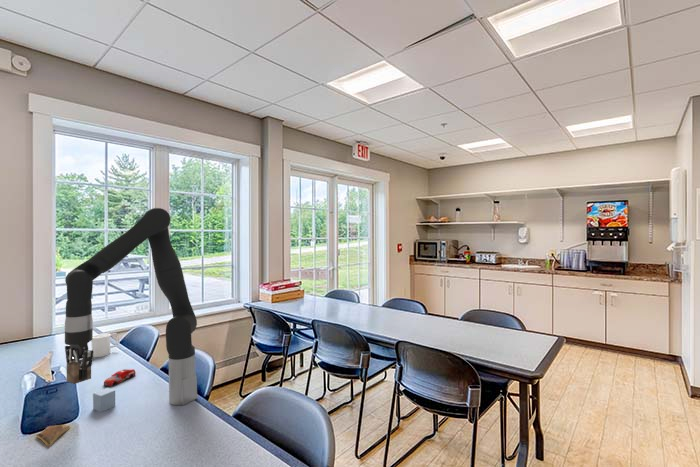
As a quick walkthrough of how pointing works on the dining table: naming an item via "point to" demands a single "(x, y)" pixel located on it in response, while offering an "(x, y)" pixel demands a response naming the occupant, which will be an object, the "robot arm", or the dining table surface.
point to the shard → (52, 433)
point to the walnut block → (76, 372)
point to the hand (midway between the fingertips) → (78, 377)
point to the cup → (102, 344)
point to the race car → (119, 377)
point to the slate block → (103, 399)
